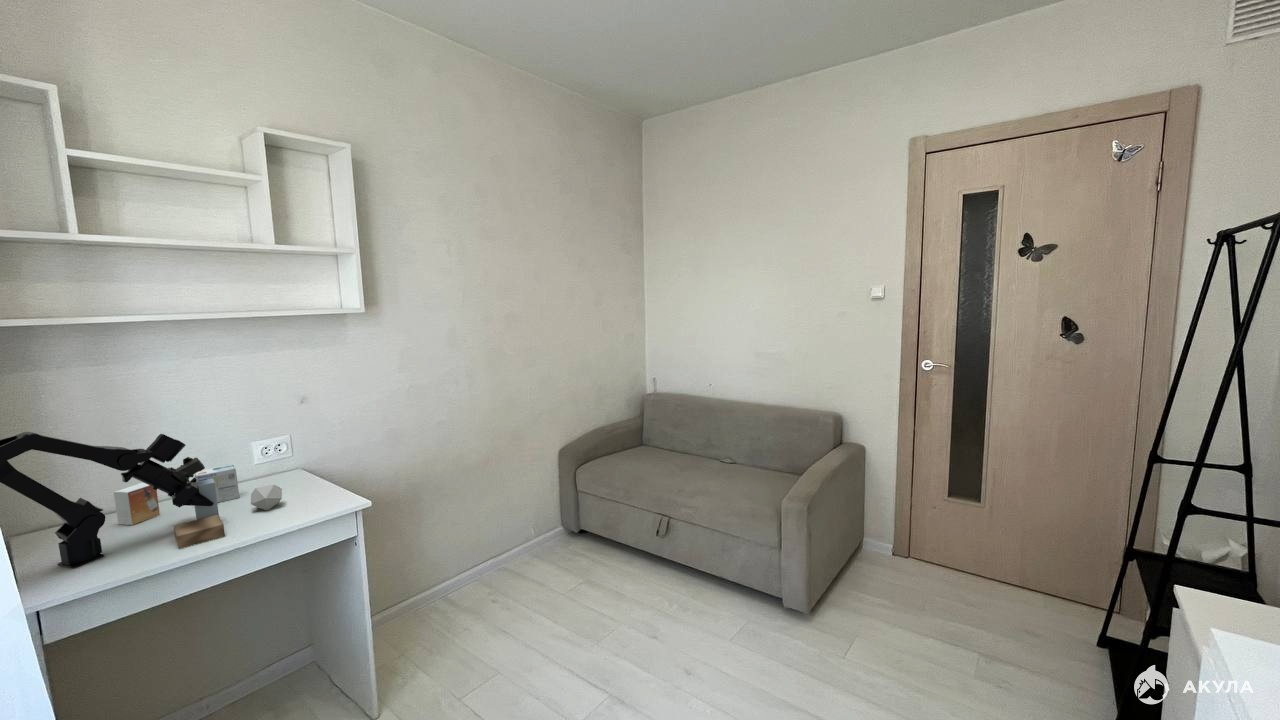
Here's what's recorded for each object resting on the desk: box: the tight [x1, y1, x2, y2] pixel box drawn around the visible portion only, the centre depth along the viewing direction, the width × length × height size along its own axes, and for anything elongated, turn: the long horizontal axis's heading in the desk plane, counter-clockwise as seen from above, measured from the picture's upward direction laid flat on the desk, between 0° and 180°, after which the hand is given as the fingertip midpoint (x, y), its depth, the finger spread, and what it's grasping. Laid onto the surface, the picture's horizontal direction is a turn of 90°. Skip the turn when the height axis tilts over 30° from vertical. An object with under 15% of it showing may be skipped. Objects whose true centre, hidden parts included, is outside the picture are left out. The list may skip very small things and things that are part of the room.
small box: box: [113, 482, 161, 526], centre depth 161 cm, size 8×6×10 cm
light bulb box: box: [194, 463, 240, 504], centre depth 176 cm, size 11×7×11 cm, turn 134°
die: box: [250, 481, 283, 511], centre depth 169 cm, size 8×9×10 cm
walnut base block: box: [173, 514, 226, 550], centre depth 149 cm, size 10×10×4 cm
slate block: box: [193, 479, 220, 520], centre depth 157 cm, size 5×5×13 cm
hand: (211, 501), depth 158 cm, fingers open, 6 cm apart
